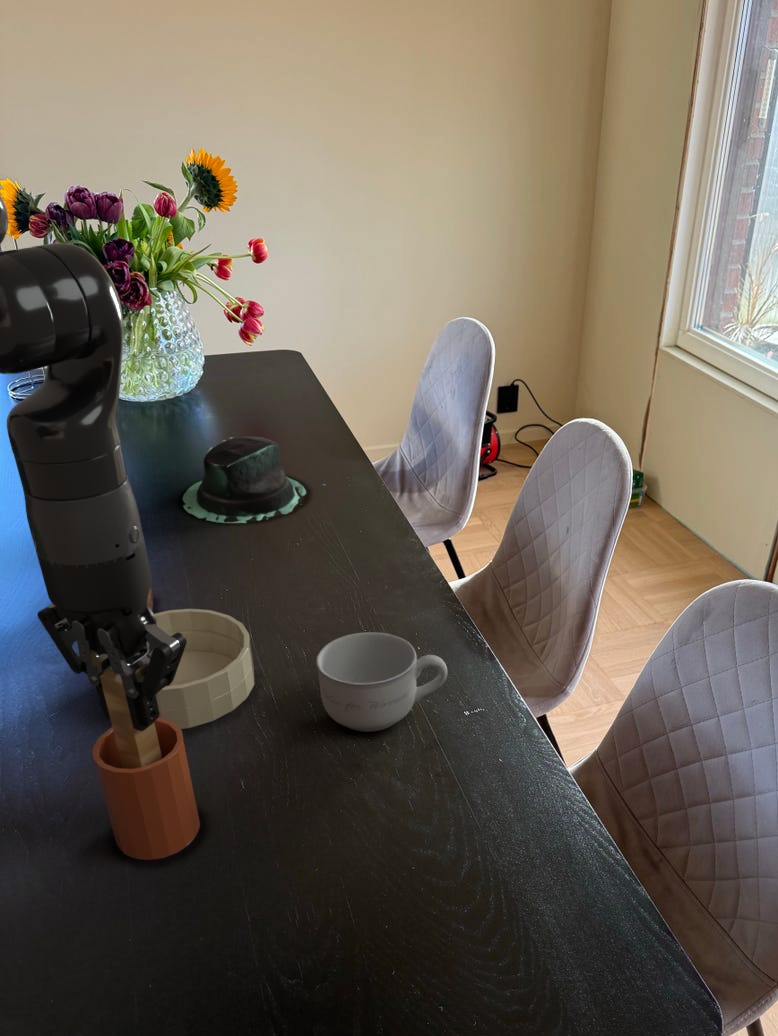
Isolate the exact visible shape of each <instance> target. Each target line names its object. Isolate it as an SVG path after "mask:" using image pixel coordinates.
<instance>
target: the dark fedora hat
mask: <svg viewBox="0 0 778 1036" xmlns="http://www.w3.org/2000/svg"><path fill="white" fill-rule="evenodd" d="M202 467H203V475H204V476H203V478H202V480H200V481H198V482H195V483H194V484H192V485H191V486H190V487H189V488H187V490H186V491H185V493H183V496H182V501H183V503H184V505H182V507H183V509H184V510H185V511H186V513H188V514H190V515H193V516H194V517H196V518H198V519H205V518H206V519H205V521H209V522H214V523H220V524H221V523H222V524H248V523H247V521H249V520H251V519H252V518H256V521H261V520H263V518H264V517H266V520H269V518H271V517H274V516H275V513H277V512H280V513H281V515H288V514H289V513H292V512H293V510H294V508H295V507H296V506H297V504H299V499H301V498H300V496H302V497H304V496H305V495H307V491H306V488H305V486H304V485H302V484H301V483H300V482H298V481H297V480H295V479H292V478H290V477H289V476H286V473H285V470H284V467H283V464H282V463H281V456H280V444H279V443H278V442H276V441H273V440H271V439H269V438H266V437H259V436H233V437H229V438H228V439H227V440H226V439H222V441H221V443H218V444H216V445H213V446H211V447H210V448H209V449H208V450H207V451H206V453H205V454H204V457H203V459H202ZM296 488H298V493H299V494H300V496H299V495H298V493H297V491H296ZM301 505H302V503H301V504H300V506H301ZM217 518H218V519H217ZM227 518H235V519H237V521H226V522H225V519H227Z"/></svg>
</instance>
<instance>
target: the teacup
mask: <svg viewBox="0 0 778 1036" xmlns="http://www.w3.org/2000/svg"><path fill="white" fill-rule="evenodd" d="M417 658H418V657H417V652H416V649H415V648H414V647H413V645H412V644H411V643H410V642H409V641H408V640H406V639H405V638H402V637H400V636H397V635H394V634H390V633H385V632H376V631H375V632H374V631H367V632H357V633H352V634H347V635H344V636H340V637H338V638H336V639H334V640H332V641H330V642H329V643H327V644H325V645H324V647H322V648H321V650H319V652H318V654H317V655H316V659H315V660H316V661H315V662H316V663H315V665H316V668H317V671H318V684H319V691H320V697H321V702H322V705H323V708H324V710H325V712H326V713H327V715H329V717H330V718H331V719H332V720H333V721H335V722H336V723H338V724H339V725H341V726H344V727H346V728H348V729H350V730H354V731H358V732H367V733H369V732H370V733H371V732H378V731H382V730H385V729H388V728H390V727H392V726H393V725H395V724H396V723H398V722H400V721H401V720H403V719H404V718H405V717H406V716H407V715H408V714H409V713H410V711H412V709H413V706H414V703H418V702H420V701H421V700H422V699H423V697H425V696H427V695H429V694H431V693H433V692H435V691H436V690H438V689H439V688H441V687H442V686H443V685H444V684H445V682H446V680H447V676H448V667H447V665H446V662H445V660H444V659H442V658H441V657H439V656H437V655H434V654H426V655H424V656H421V657H419V658H418V659H417ZM426 667H435V668H436V669H437V670H438V674H437V676H436V677H435V678H433V679H432V680H430V681H429V682H427V683H426V684H423V685H419V686H417V679H419V677H420V675H421V672H422V671H423V669H424V668H426Z"/></svg>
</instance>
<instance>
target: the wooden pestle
mask: <svg viewBox="0 0 778 1036" xmlns="http://www.w3.org/2000/svg"><path fill="white" fill-rule="evenodd" d="M135 675H136V678H138V677H139V676H140V675H141V673H140V670H139V669H138V670H137V671H136V673H135ZM100 680H101V684H102V688H103V692H104V696H105V700H106V704H107V707H108V711H109V715H110V719H111V720H110V723H111V728H112V727H113V731H114V735H115V739H116V743H117V747H118V751H119V755H120V759H121V763H122V766H123V768H124V769H134V768H139V767H144V766H148V765H151V764H153V763H155V762H157V761H159V760H161V759H162V755H161V751H160V746H159V742H158V737H157V733H156V728H155V723H153V724H152V725H150V726H149V727H148V728H147V729H145V730H144V731H139V730H137V729H134V727H133V723H132V719H131V715H130V711H129V707H128V702H127V698H126V696H127V695H128V694H127V693H126V691H125V688H124V685H123V682H122V679H121V676H120V675H119V674H115V673H114V672H113V670H112V668H111V669H109V670H108V671H106V672H105V673H103V674H102V675H101V676H100Z"/></svg>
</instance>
